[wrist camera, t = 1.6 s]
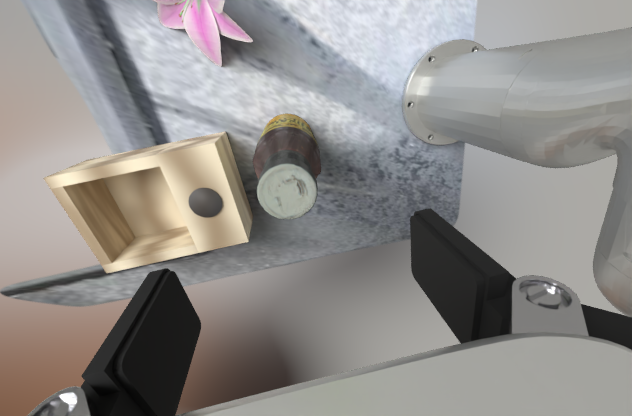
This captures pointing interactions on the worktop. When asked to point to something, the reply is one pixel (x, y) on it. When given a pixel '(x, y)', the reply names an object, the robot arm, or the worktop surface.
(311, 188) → the sauce bottle
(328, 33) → the worktop surface
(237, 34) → the lily
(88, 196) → the caddy
